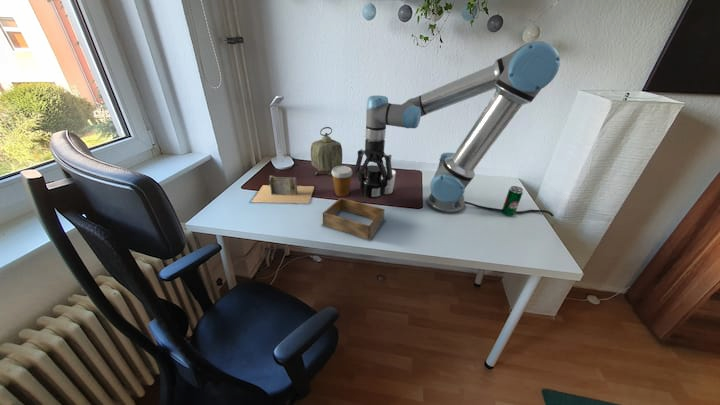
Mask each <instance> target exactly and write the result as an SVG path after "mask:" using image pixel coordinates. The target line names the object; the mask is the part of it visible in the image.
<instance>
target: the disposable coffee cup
mask: <svg viewBox="0 0 720 405" xmlns="http://www.w3.org/2000/svg"><path fill="white" fill-rule="evenodd" d="M330 172H331V174H332V175H331V176H332V180H333V187H334V194H335V195H336V196H337V197H340V198H344V197H347V196H349V195H350V188H351V182H352V175H353V173H354V172H353V170H352V168H351V167H349V166H346V165H341V166H337V167H334V168H333V169H332V170H330Z"/></svg>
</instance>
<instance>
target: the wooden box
mask: <svg viewBox="0 0 720 405" xmlns="http://www.w3.org/2000/svg"><path fill="white" fill-rule="evenodd" d="M341 211H343V212H346V213H350V214H353V215H357V216H361V217H363V218H366V219H367V218H368V219H370V220H372V221H371V223H370V224H369V225H367V224H364V223H362V222H358V221H355V220H351V219H348V218H344V217H341V216H337V215H338V214H339V213H340V212H341ZM384 221H385V209H384V208H381V207H377V206H373V205H371V204H367V203H362V202H358V201H355V200H351V199H347V198H344V197H339V198H338V199H337V200H336V201H334V203H333V204H331V205H330V206H328V208H327V209H325V210H324V211H323V212H322V225H323V226H325V227H328V228H331V229H333V230H337V231H340V232H343V233H346V234H349V235H352V236H356V237H358V238H362V239H365V240H368V241H370V240H371V239H372V238H373V236H374V235H375V234H376V233H377V231H378V230H379V228H380V227H381V225H382V224H383V223H384Z"/></svg>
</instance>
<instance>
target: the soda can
mask: <svg viewBox="0 0 720 405" xmlns="http://www.w3.org/2000/svg"><path fill="white" fill-rule="evenodd" d="M523 194H524V189H523V188H522V187H521V186H517V185H511V186H510V188H508V191H507V194H506V197H505V200H504V203H503V205H502V211H501V213H502V214H503V215H504V216H507V217H513V216H515V215H516V214H517V213H516V211H518V207H519V205H520V202H521V199H522V196H523Z"/></svg>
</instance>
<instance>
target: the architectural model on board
mask: <svg viewBox="0 0 720 405" xmlns="http://www.w3.org/2000/svg"><path fill="white" fill-rule="evenodd" d="M268 177H269V179H268V181H269V184H263V185H262V186H261V187H260V189H259V190H258V192H257V193H256V195H255V196H254V197H253V199H252V200H251V203H269V204H270V203H271V204H273V203H275V204H276V203H277V204H310V202H311V198H312V195H313V192H314V189H315V185H314V186H313V185H298V183H297V177H290V176H289V177H288V176H287V177H286V176H285V177H283V176H275V175H268Z"/></svg>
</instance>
